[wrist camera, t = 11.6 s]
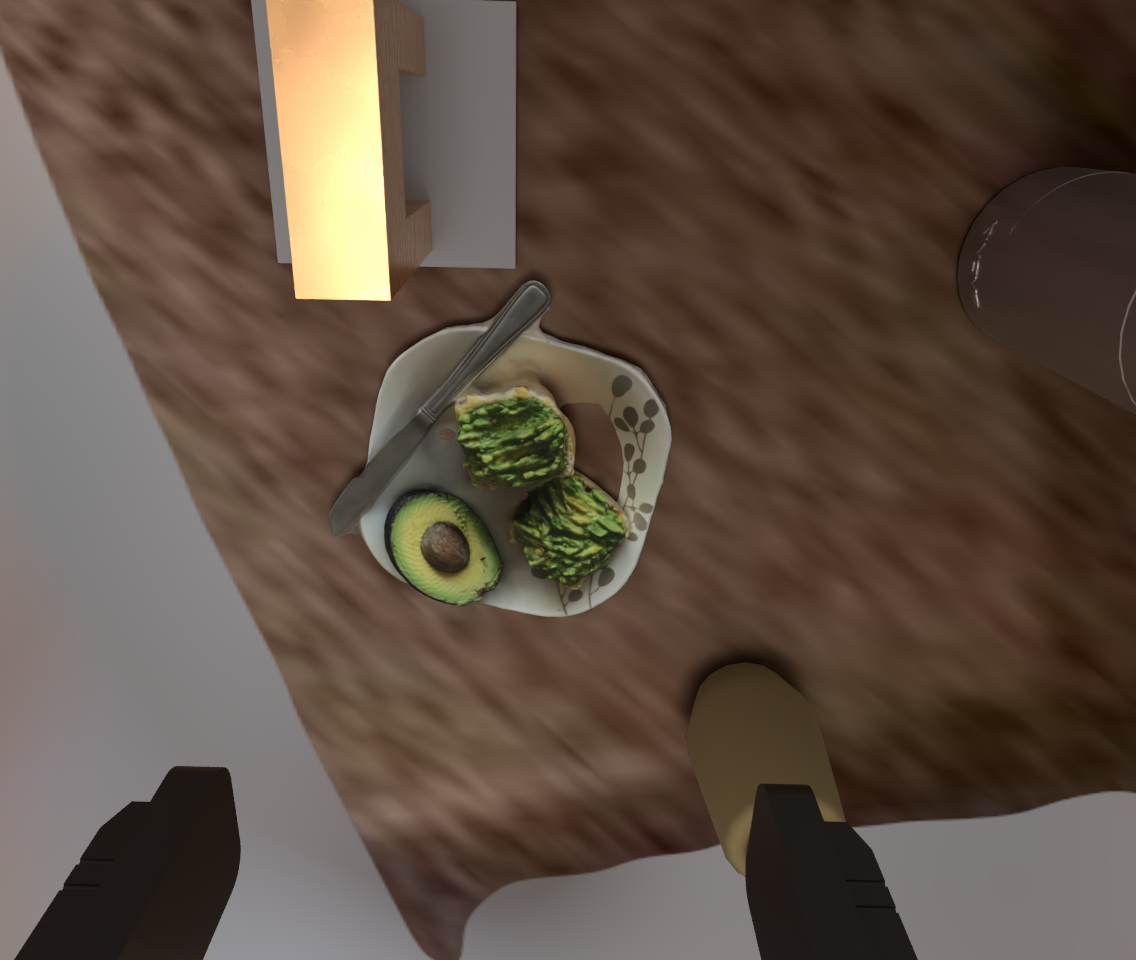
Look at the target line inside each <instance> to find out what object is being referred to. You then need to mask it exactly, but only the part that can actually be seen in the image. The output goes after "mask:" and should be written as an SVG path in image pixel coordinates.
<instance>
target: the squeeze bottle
mask: <svg viewBox="0 0 1136 960" xmlns="http://www.w3.org/2000/svg"><path fill="white" fill-rule="evenodd" d="M685 737H686V743H687V749H688V754H689V758H690V761H691V764H692V767H693V769H694V772H695V775H696V778H697V780H698V783H699V786H700V789H701V791H702V794H703V797H704V800H705V802H706V805H707V808H708V811H709V813H710V816H711V819H712V821H713V824H714V827H715V830H716V832H717V835H718V838H719V841H720V843H721V846H722V849H723V852H724V854H725V857H726V859H727V860H728V861H729V862H730V864H731V865H732V866H733V867H734V869H735V870H736V871H737V872H738V873H740V874H742V875H744V876H745V865H746V854H747V848H748V841H749V835H750V828H751V822H752V815H753V809H754V802H755V796H756V791H757V787H758V785H759V784H761V783H765V784H803V785H809V786H810V787H811V788H812V790H813V792H814V795H815V798H816V800H817V803H818V806H819V809H820V811H821V814H822V817H823V819H824V821H831V822H846V821H845V817H844V813H843V810H842V806H841V802H840V799H839V795H838V791H837V788H836V784H835V781H834V777H833V773H832V770H831V766H830V762H829V759H828V755H827V751H826V748H825V744H824V741H823V737H822V733H821V730H820V726H819V722H818V719H817V715H816V713H815V712H814V710H813V709H812V708H811V706H810V705H809V703H808V702H807V700H806V699H805V697H804V696H803V695H801V694H800V693H799V692H798V691H797V690H795V689H794V688H793V687H792V686H791V685H790V684H788V683H787V682H786V681H785V680H784V679H782V678H781V677H780V676H779V675H778V674H776V673H775V672H773V671H771V670H770V669H768V668H766V667H765V666H763V665H759V664H753V663H747V662H742V663H737V664H731V665H726V666H724V667H722V668H720V669H719V670H717V671H715V672H713V673H711V674H710V675H709V676H708V677H707V678H706V680H705V681H704V682H703V683H702V684H701V685H700V686H699V689H698V693H697V696H696V699H695V702H694V706H693V710H692V714H691V717H690V721H689V725H688V729H687V732H686V736H685Z"/></svg>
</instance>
